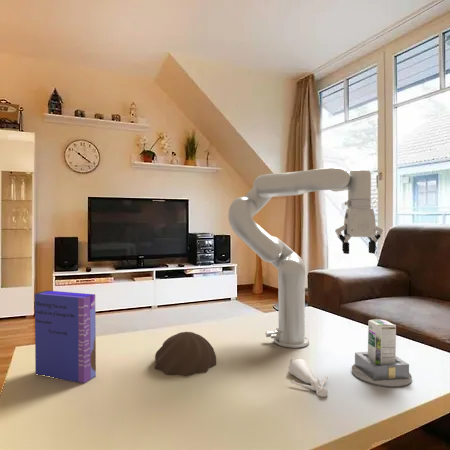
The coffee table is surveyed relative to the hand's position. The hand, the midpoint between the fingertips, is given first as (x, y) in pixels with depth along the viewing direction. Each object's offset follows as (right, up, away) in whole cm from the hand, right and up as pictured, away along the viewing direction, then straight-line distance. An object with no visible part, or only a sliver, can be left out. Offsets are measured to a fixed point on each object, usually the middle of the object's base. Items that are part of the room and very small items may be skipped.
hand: (359, 253), depth 126 cm
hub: (-2, -34, -22) cm, 40 cm away
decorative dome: (-60, -34, -13) cm, 70 cm away
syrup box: (-2, -33, -22) cm, 40 cm away
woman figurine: (-24, -34, -27) cm, 50 cm away
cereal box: (-94, -34, -23) cm, 102 cm away
